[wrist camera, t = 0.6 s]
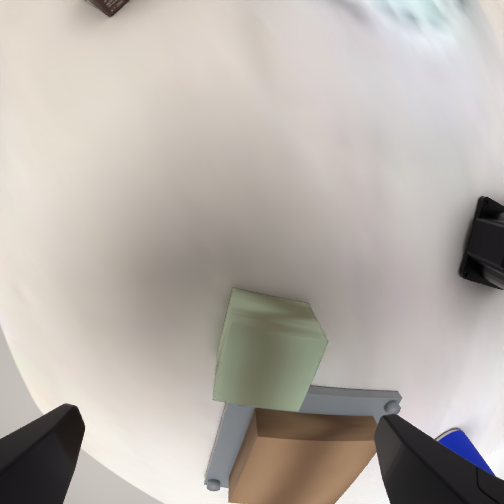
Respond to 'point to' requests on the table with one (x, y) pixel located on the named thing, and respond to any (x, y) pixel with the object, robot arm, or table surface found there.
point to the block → (267, 351)
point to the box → (107, 5)
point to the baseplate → (314, 403)
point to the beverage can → (463, 448)
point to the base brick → (300, 457)
